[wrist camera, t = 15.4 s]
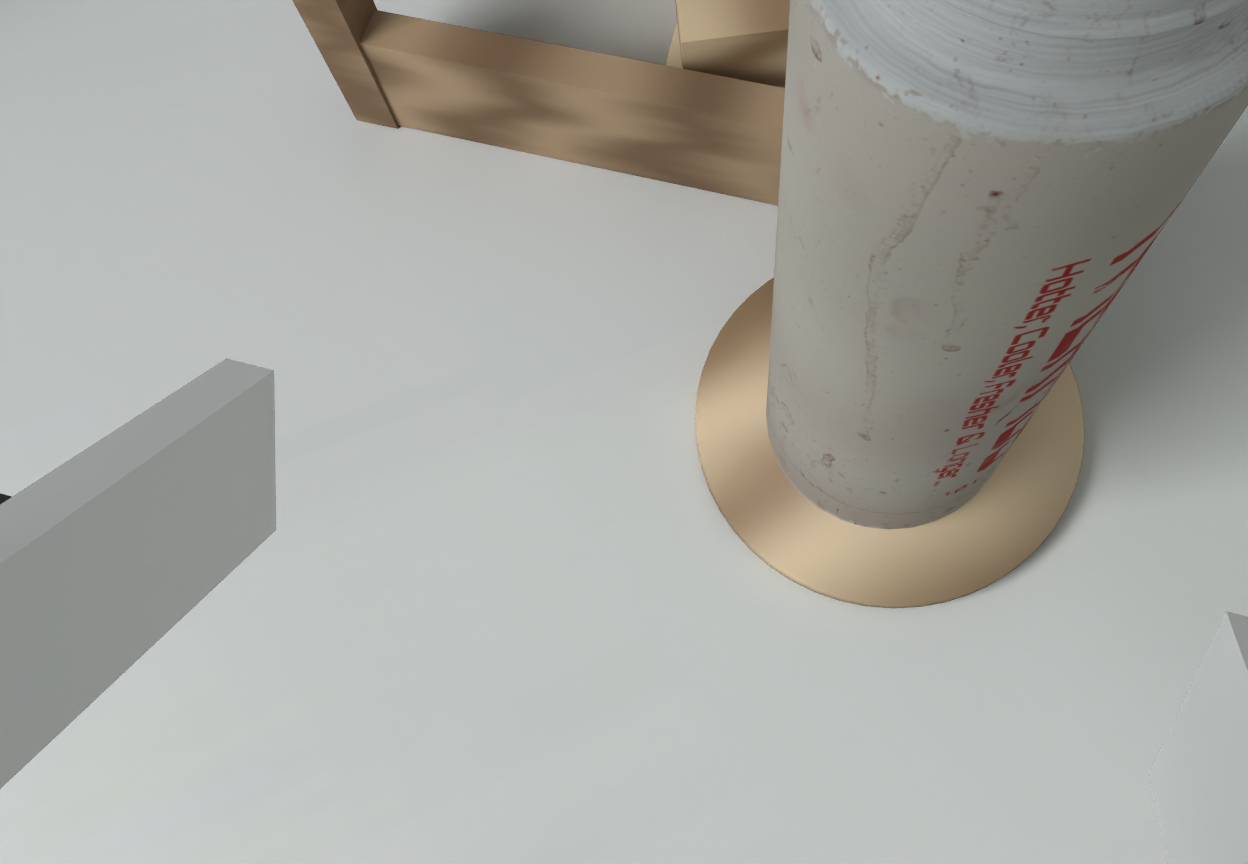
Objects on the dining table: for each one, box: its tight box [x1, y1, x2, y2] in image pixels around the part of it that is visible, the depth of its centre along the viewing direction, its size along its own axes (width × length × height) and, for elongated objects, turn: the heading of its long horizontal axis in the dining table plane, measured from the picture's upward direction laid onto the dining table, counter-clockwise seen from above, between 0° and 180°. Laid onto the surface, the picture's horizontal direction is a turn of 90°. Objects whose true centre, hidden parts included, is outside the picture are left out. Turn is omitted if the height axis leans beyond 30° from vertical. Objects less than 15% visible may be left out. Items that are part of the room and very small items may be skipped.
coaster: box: [695, 278, 1084, 608], centre depth 39 cm, size 13×13×1 cm
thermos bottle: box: [766, 0, 1248, 529], centre depth 25 cm, size 8×8×28 cm
